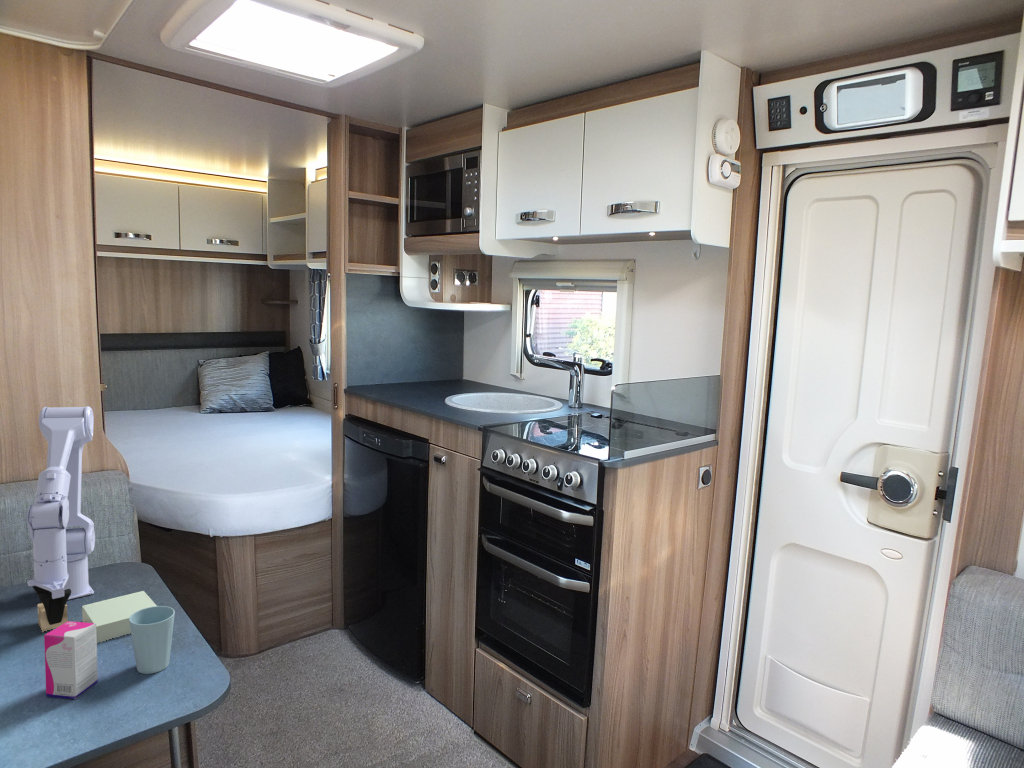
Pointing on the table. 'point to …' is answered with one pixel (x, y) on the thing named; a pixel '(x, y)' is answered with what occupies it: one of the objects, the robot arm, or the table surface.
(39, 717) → the table surface
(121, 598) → the green box
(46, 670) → the supplement box
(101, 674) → the table surface
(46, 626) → the birch block
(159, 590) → the table surface
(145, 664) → the cup
